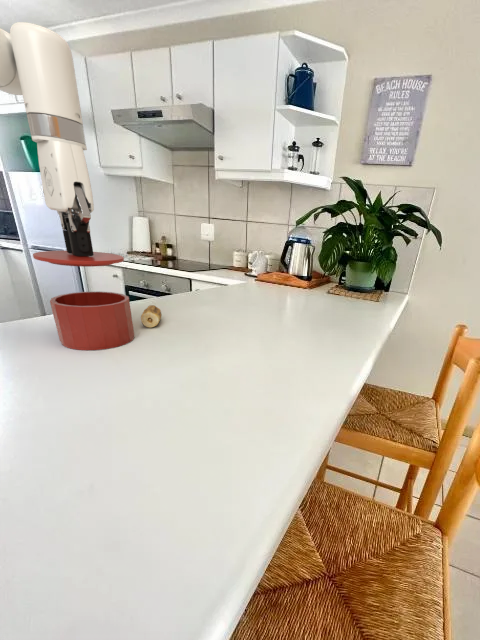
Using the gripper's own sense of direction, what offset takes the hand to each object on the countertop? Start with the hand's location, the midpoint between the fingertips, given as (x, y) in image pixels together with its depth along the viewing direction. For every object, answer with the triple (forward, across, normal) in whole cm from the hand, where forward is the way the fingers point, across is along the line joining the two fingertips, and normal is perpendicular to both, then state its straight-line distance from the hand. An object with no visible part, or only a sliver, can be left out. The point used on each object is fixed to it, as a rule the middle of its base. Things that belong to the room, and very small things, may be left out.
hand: (80, 253), depth 61 cm
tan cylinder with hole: (+17, -4, +14) cm, 23 cm away
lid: (+1, 0, 0) cm, 1 cm away
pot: (+17, 0, 0) cm, 17 cm away
